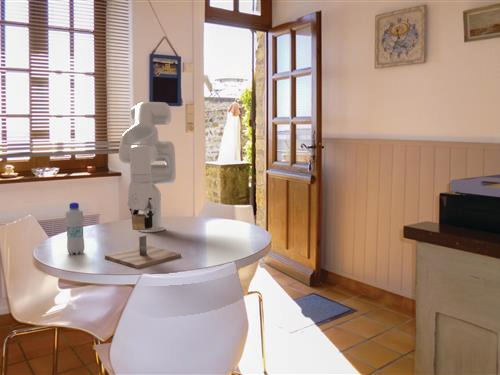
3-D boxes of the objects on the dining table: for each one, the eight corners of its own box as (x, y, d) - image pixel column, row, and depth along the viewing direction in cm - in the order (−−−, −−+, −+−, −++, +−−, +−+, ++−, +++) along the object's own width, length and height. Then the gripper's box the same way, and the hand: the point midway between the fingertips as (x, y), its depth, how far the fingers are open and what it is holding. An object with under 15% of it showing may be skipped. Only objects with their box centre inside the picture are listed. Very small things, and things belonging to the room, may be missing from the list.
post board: (104, 258, 180) (104, 236, 179) (148, 248, 196) (147, 228, 194) (137, 268, 168) (136, 245, 166) (181, 256, 183) (180, 235, 182)
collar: (129, 228, 180) (128, 215, 179) (144, 225, 185) (143, 213, 184) (140, 231, 175) (140, 217, 175) (155, 228, 180) (155, 215, 180)
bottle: (88, 251, 190) (86, 201, 187) (77, 256, 184) (75, 204, 181) (74, 250, 192) (72, 200, 189) (63, 254, 186) (60, 203, 183)
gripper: (118, 178, 180) (120, 225, 183) (147, 181, 169) (148, 231, 171) (135, 176, 186) (136, 222, 188) (164, 179, 175) (165, 228, 177)
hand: (142, 226), depth 180 cm, fingers closed on collar, 6 cm apart
